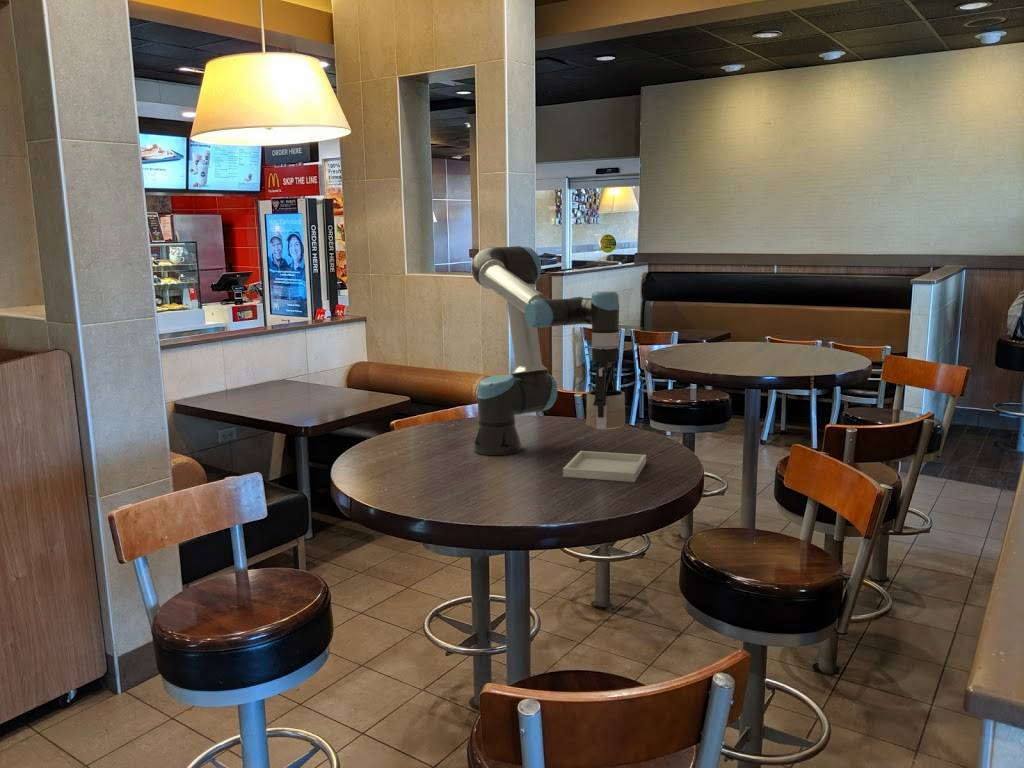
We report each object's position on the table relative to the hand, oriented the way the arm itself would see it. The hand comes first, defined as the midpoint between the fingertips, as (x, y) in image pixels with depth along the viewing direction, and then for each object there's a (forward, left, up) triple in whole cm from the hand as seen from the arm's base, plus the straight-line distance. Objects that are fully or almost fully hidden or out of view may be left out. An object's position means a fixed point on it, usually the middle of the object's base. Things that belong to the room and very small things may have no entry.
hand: (605, 424), depth 223 cm
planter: (0, 0, -1) cm, 1 cm away
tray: (0, 0, -13) cm, 13 cm away
